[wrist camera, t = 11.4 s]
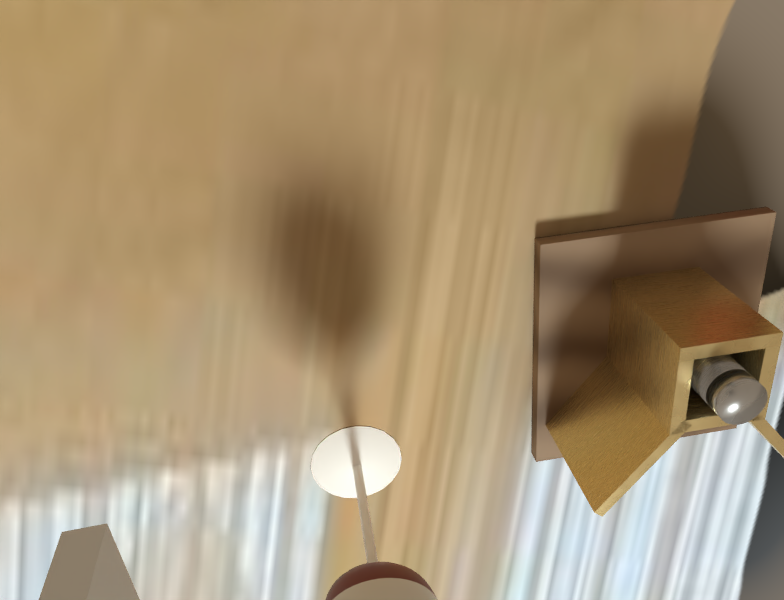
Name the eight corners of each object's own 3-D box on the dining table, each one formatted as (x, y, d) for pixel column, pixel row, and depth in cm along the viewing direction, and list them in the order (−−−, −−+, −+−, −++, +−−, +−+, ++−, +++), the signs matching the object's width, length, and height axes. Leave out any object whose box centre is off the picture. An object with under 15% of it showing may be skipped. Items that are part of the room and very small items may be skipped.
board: (535, 238, 51) (540, 244, 50) (766, 206, 53) (776, 212, 52) (531, 452, 61) (536, 461, 60) (728, 419, 62) (736, 428, 61)
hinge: (549, 288, 52) (605, 360, 43) (759, 258, 54) (854, 321, 45) (545, 429, 58) (593, 517, 49) (733, 398, 60) (813, 478, 51)
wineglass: (318, 415, 56) (340, 637, 38) (421, 433, 58) (486, 650, 40) (292, 492, 59) (302, 729, 41) (390, 506, 61) (439, 736, 44)
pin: (647, 288, 53) (739, 376, 43) (679, 301, 54) (777, 390, 44) (624, 323, 55) (708, 416, 44) (656, 335, 56) (746, 430, 45)
